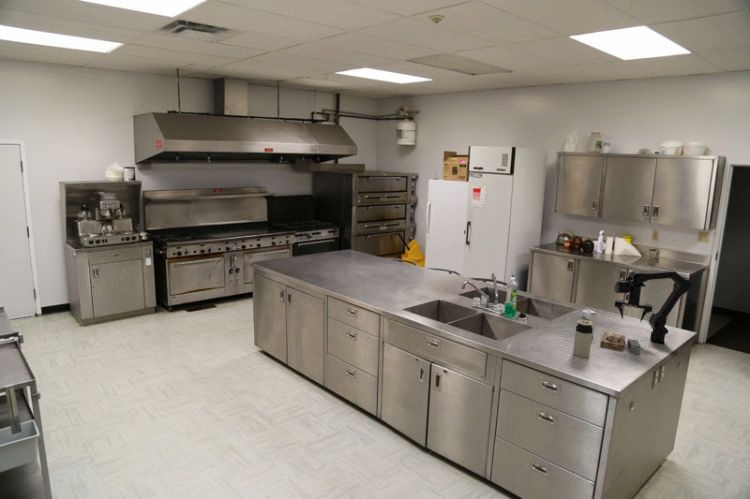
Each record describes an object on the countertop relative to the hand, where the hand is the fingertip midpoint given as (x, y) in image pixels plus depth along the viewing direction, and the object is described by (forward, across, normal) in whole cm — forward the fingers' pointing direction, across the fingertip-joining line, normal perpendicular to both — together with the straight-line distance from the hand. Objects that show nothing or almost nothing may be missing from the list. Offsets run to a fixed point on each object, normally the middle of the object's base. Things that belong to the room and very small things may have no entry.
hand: (631, 320), depth 277 cm
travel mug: (+11, +21, +39) cm, 46 cm away
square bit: (+12, +8, +14) cm, 20 cm away
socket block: (+12, +8, +12) cm, 18 cm away
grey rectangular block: (+12, -3, +17) cm, 21 cm away
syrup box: (+12, +22, +6) cm, 26 cm away
